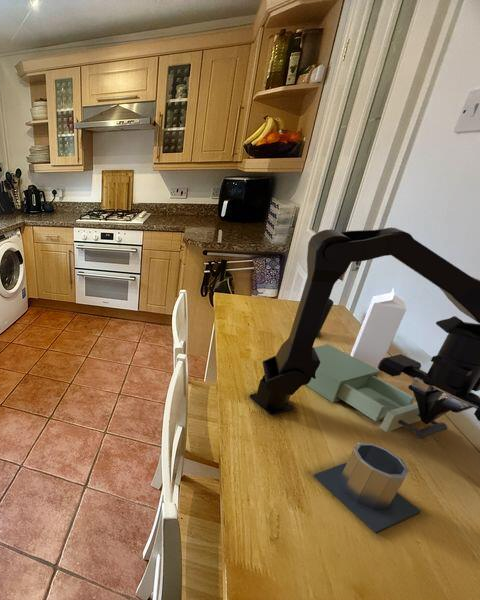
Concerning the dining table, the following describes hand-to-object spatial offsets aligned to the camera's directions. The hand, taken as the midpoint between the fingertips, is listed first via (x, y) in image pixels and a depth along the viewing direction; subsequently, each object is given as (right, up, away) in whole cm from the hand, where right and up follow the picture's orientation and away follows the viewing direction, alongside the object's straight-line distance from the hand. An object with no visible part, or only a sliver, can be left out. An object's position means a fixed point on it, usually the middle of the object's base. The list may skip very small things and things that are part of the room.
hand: (425, 422), depth 63 cm
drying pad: (-20, -8, -9) cm, 24 cm away
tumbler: (-20, -8, -9) cm, 24 cm away
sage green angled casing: (-5, +4, +18) cm, 19 cm away
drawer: (-2, -1, +6) cm, 7 cm away
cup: (+6, +13, +40) cm, 43 cm away
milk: (+9, +6, +24) cm, 27 cm away
